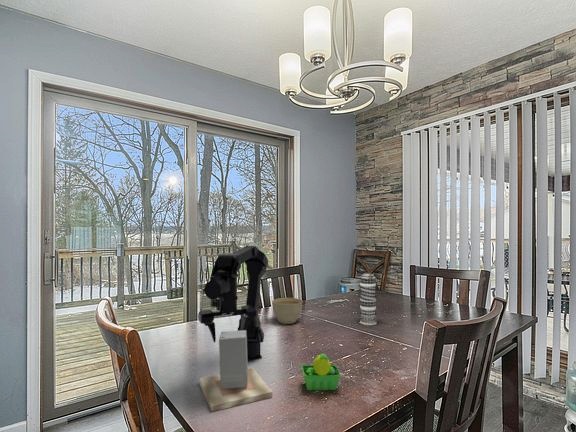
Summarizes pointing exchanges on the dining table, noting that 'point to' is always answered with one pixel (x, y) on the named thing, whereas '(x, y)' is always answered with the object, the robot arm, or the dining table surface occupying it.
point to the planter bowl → (287, 309)
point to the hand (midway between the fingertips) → (228, 339)
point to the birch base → (234, 391)
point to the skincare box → (233, 359)
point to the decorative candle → (368, 299)
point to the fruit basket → (321, 374)
